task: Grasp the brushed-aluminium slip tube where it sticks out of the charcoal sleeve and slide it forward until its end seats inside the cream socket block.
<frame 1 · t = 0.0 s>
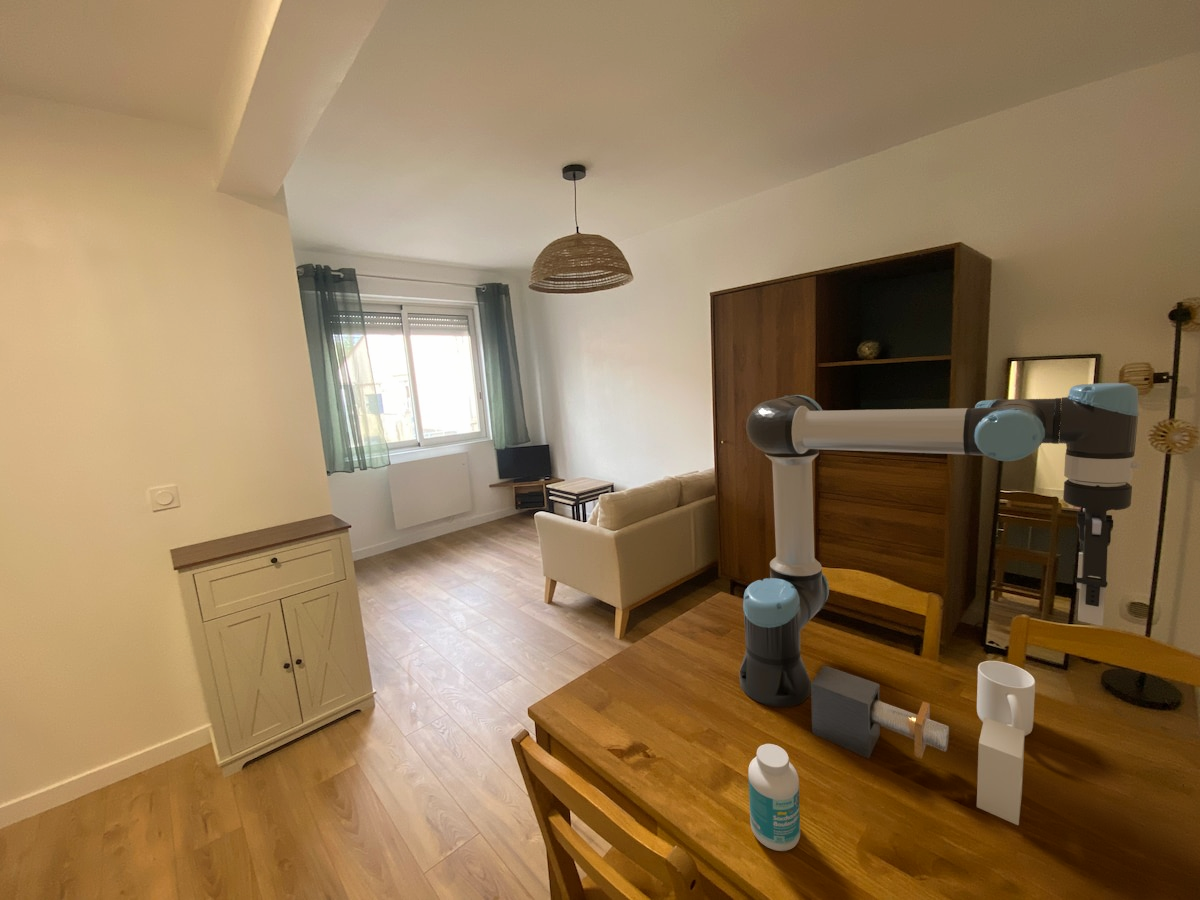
hand: (1088, 605, 79), 28 cm above the table, fingers open, 13 cm apart
pill bottle: (775, 831, 75), on the table
socket block: (999, 800, 76), on the table
slip tube: (880, 713, 87), point 8 cm above the table, slide at 0.0 cm
sleeve: (845, 734, 92), on the table
mug: (1006, 729, 90), on the table
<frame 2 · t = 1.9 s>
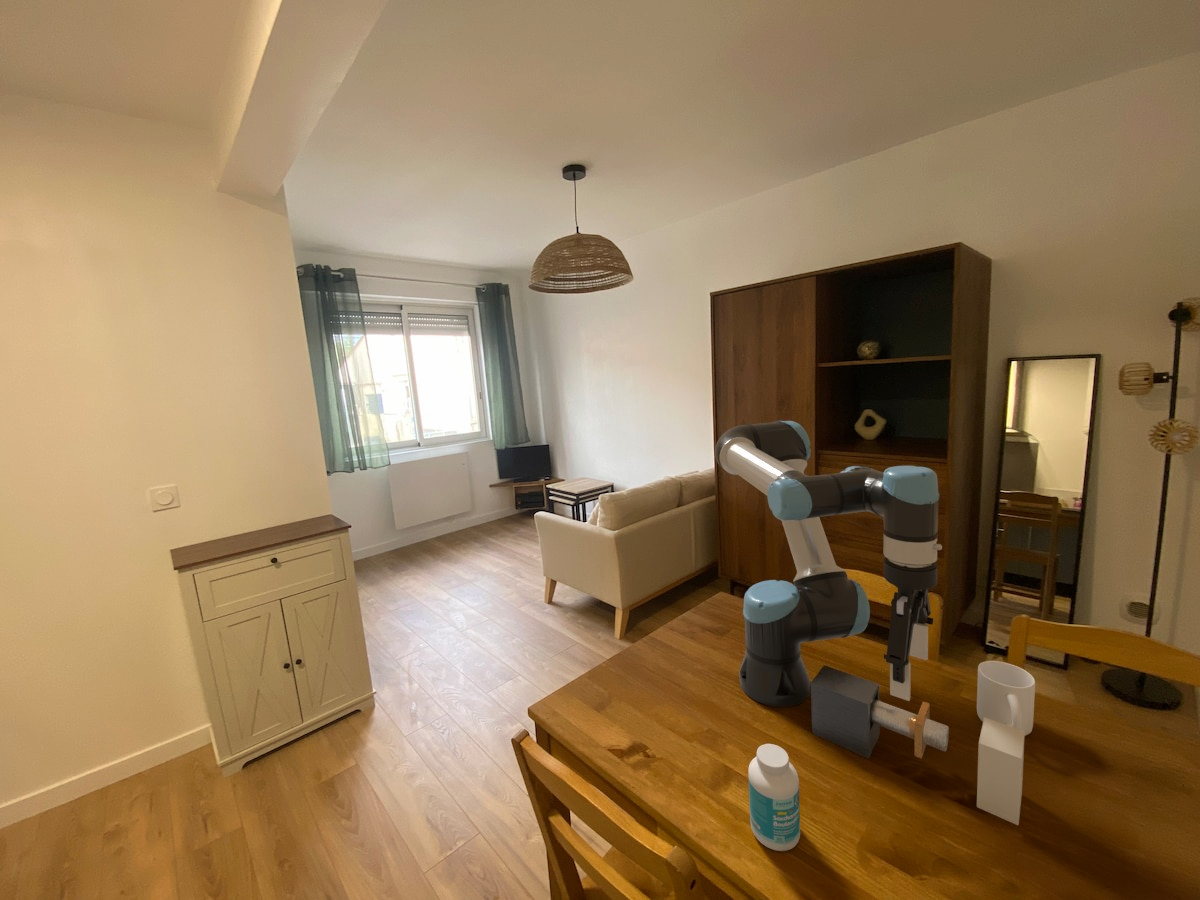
hand: (909, 675, 82), 17 cm above the table, fingers open, 13 cm apart
nothing on the table moved.
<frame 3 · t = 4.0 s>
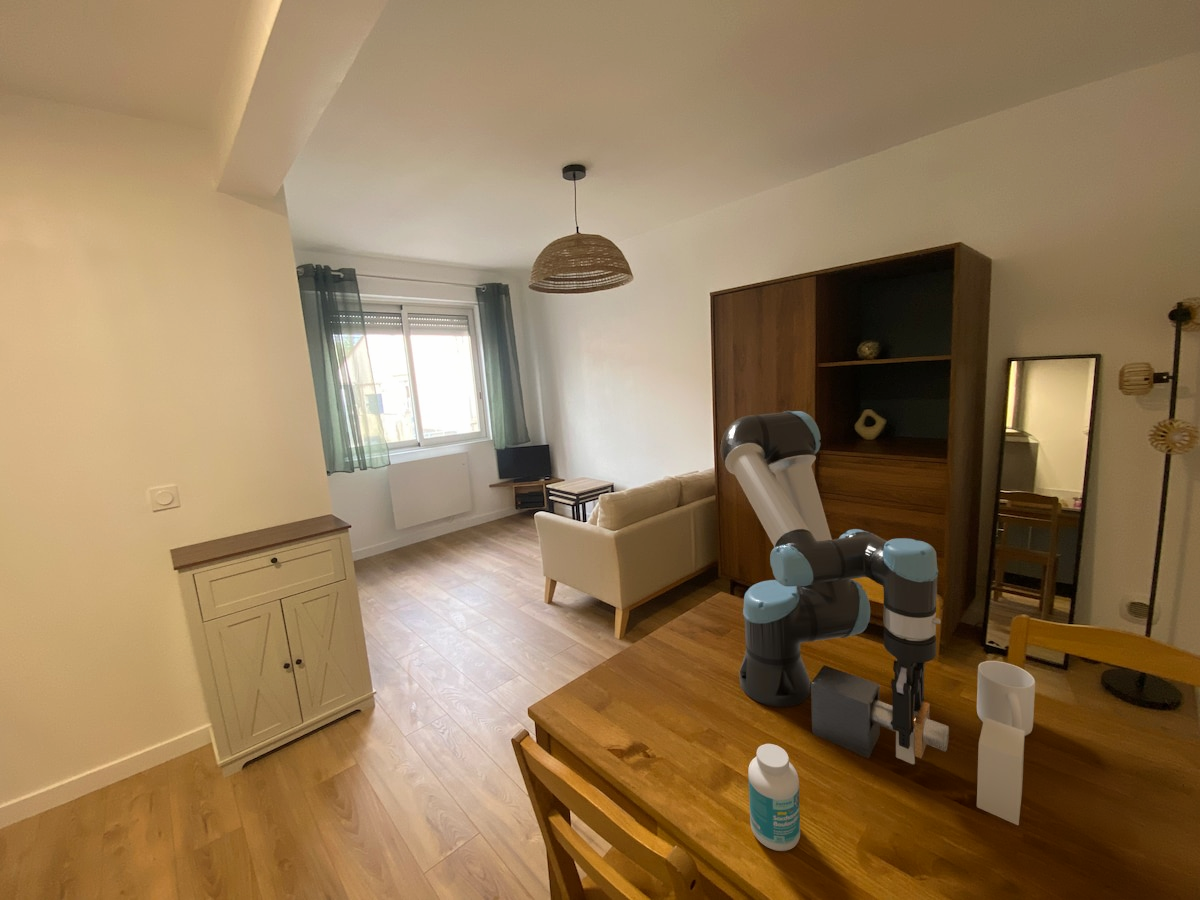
hand: (908, 751, 84), 2 cm above the table, fingers closed on slip tube, 4 cm apart
slip tube: (880, 713, 87), point 8 cm above the table, slide at 0.0 cm, touching gripper
everything else where it was.
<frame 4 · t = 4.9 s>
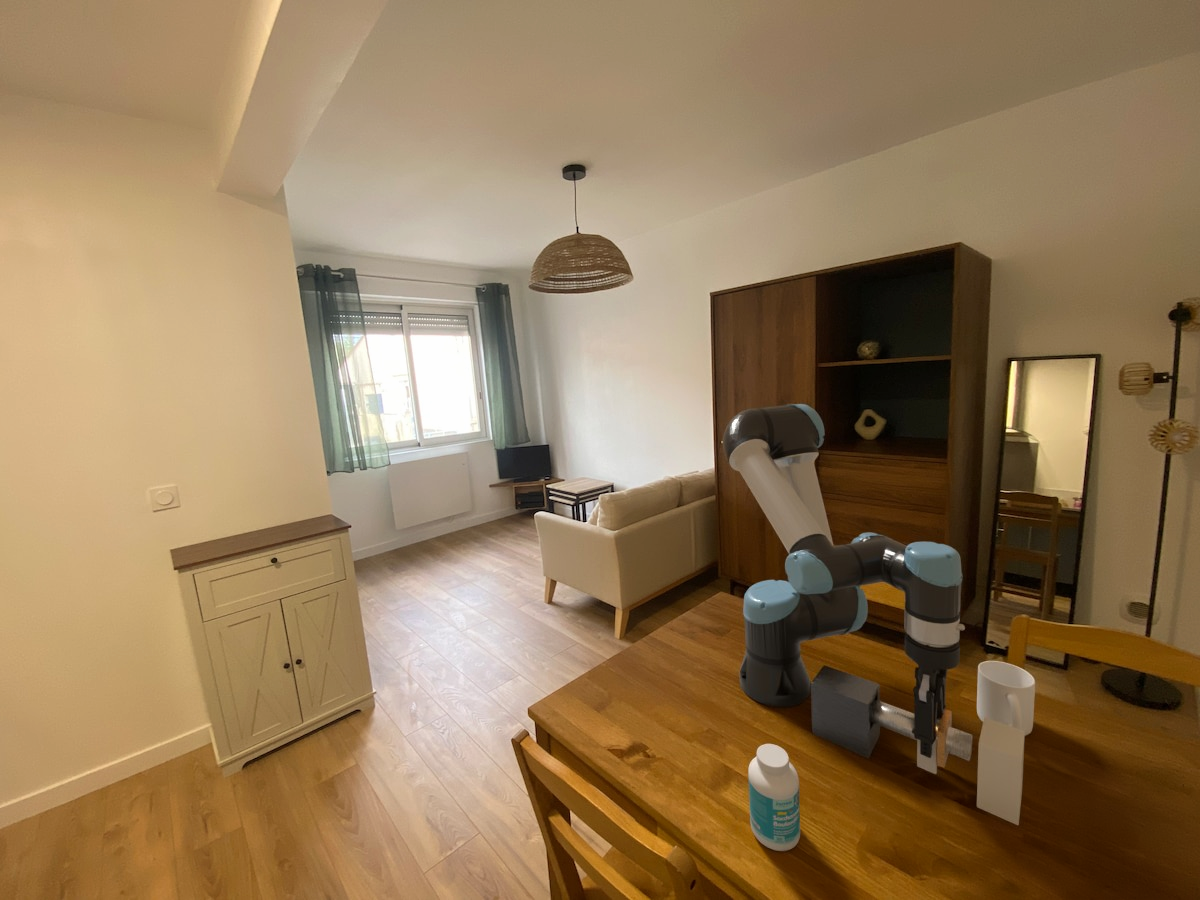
hand: (929, 759, 82), 2 cm above the table, fingers closed on slip tube, 4 cm apart
slip tube: (900, 720, 85), point 8 cm above the table, slide at 3.2 cm, touching gripper
everything else where it was.
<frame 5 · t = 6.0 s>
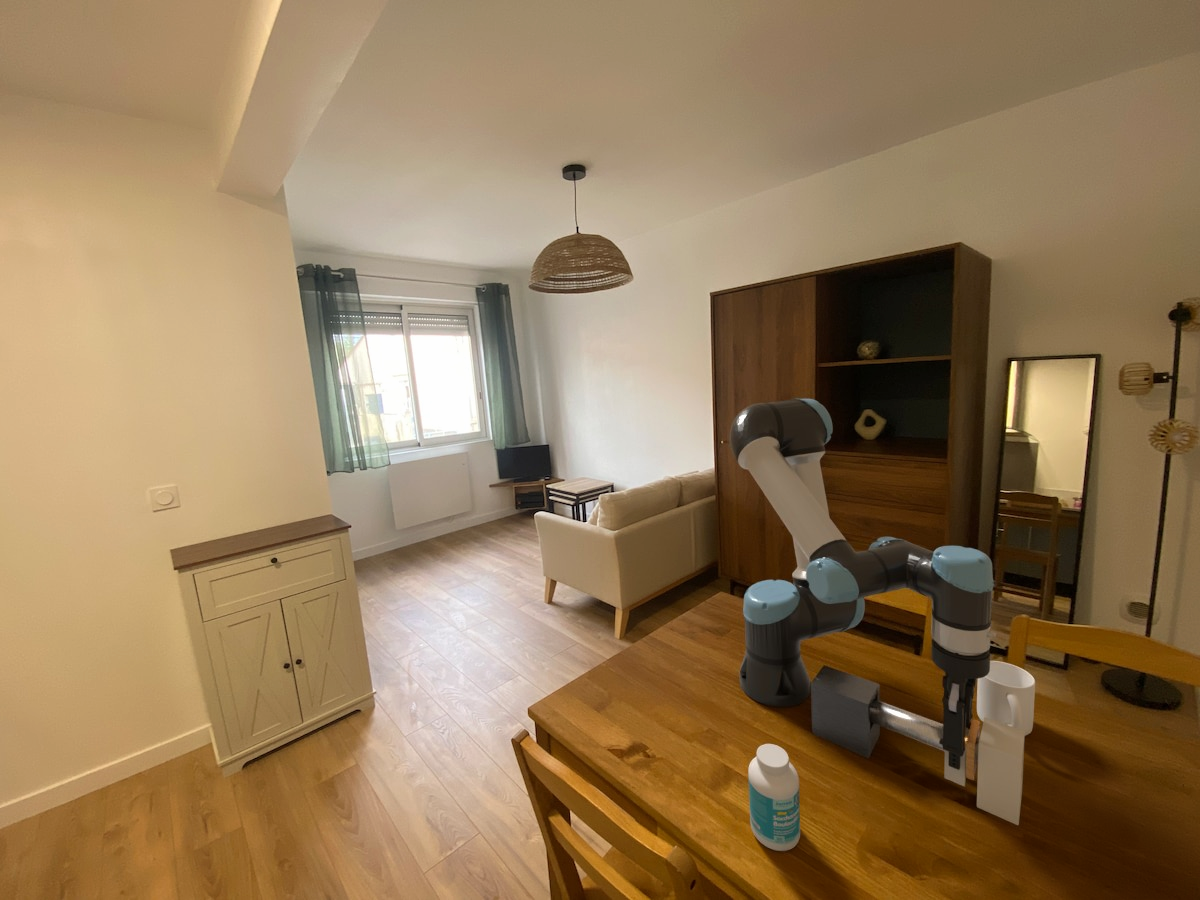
hand: (957, 771, 80), 2 cm above the table, fingers closed on slip tube, 4 cm apart
slip tube: (925, 730, 82), point 8 cm above the table, slide at 7.0 cm, touching gripper
everything else where it was.
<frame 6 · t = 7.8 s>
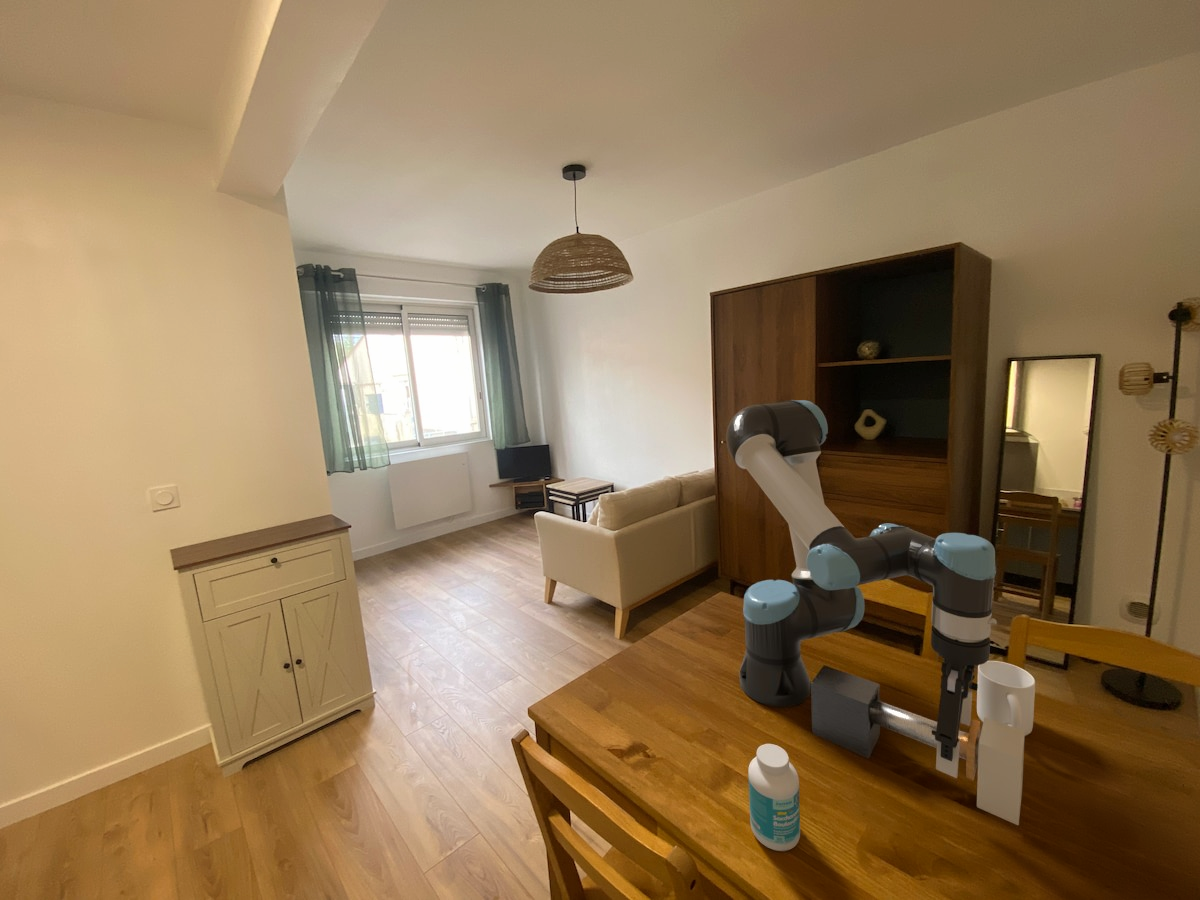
hand: (953, 745, 80), 6 cm above the table, fingers open, 13 cm apart
slip tube: (925, 730, 82), point 8 cm above the table, slide at 7.0 cm
everything else where it was.
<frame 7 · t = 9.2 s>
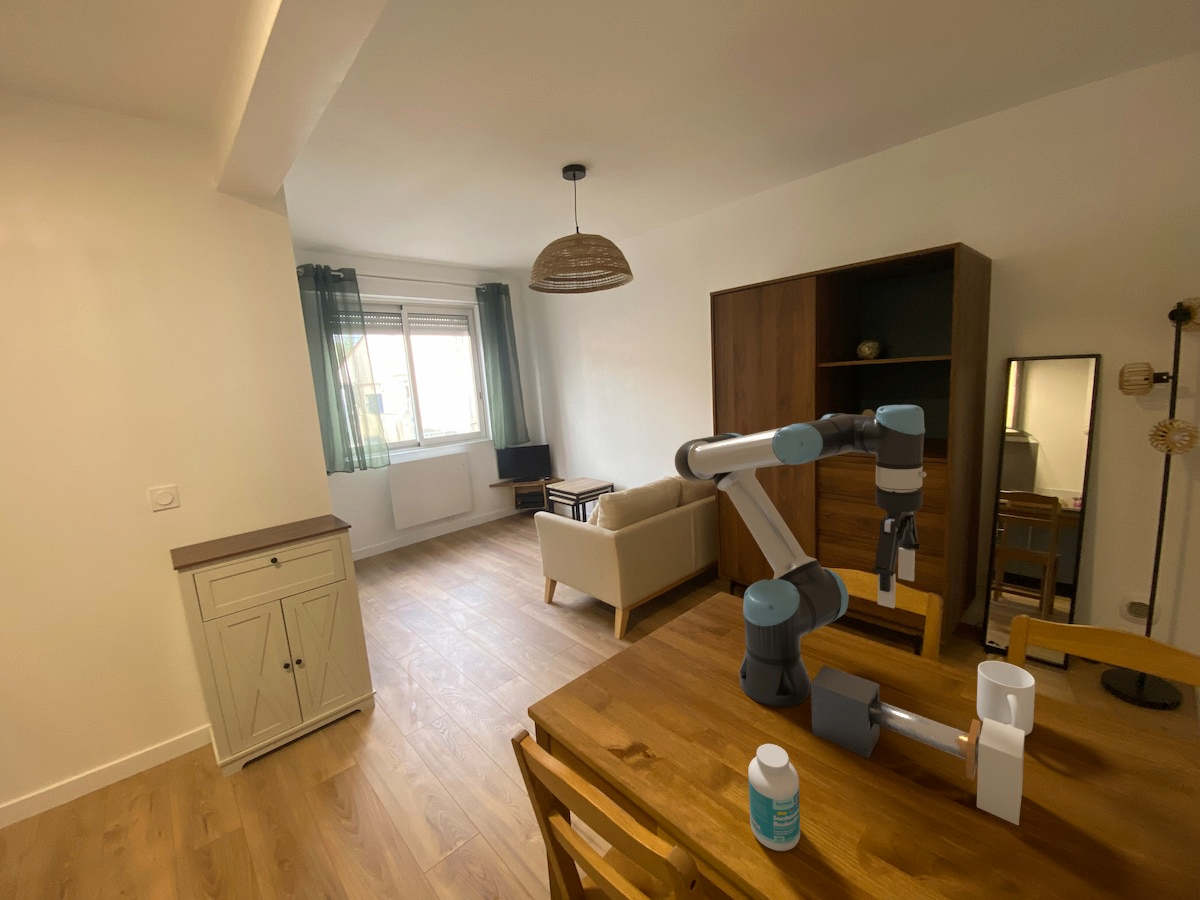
hand: (896, 591, 93), 26 cm above the table, fingers open, 13 cm apart
nothing on the table moved.
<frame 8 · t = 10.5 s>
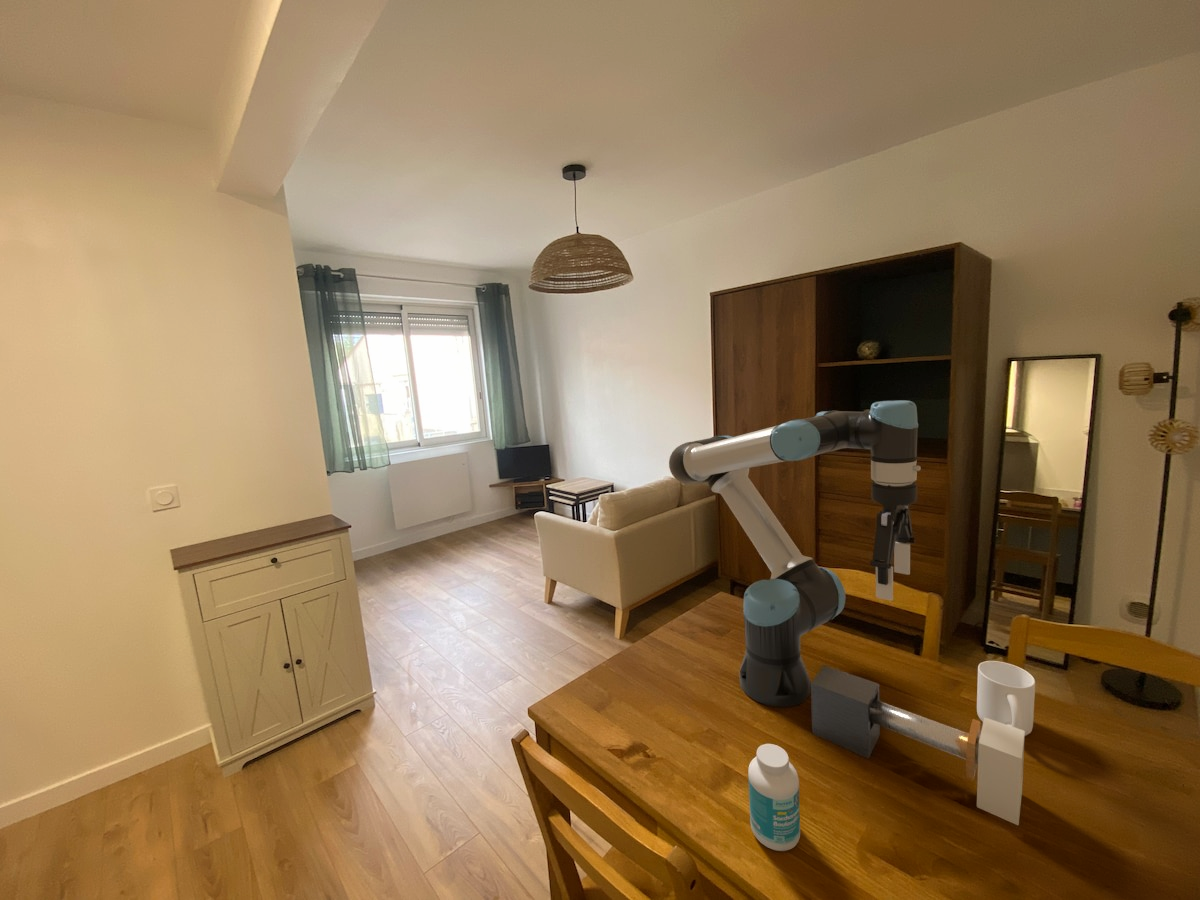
hand: (893, 585, 94), 27 cm above the table, fingers open, 13 cm apart
nothing on the table moved.
at the end: slip tube slide at 7.0 cm; the gripper is holding nothing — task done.
